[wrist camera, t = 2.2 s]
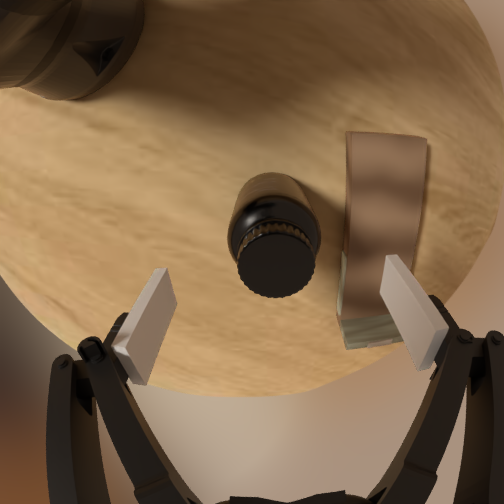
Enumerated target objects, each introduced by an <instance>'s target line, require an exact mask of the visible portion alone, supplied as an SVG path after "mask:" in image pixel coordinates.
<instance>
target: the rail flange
mask: <svg viewBox="0 0 504 504" xmlns="http://www.w3.org/2000/svg"><path fill="white" fill-rule="evenodd" d="M426 152H427V139H426V138H422V137H419V136H412V135H401V134H389V133H374V132H351V131H346V208H345V229H344V245H343V250H342V258H341V270H340V281H339V291H338V300H337V319H338V322H339V326H340V329H341V333H342V336H343V340H344V344H345V347H346V350H350V349H358V348H365V347H367V348H370V347H377V346H383V345H389V344H391V343H397V342H402V341H404V340H403V338H402V336H401V334H400V332H399V330H398V328H397V326H396V324H395V322H394V320H393V318H392V316H391V314H390V312H389V310H388V308H387V306H386V304H385V302H384V300H383V298H382V296H381V295H380V288H381V283H382V277H383V271H384V265H385V259H386V255H396V254H397V255H398V256H399V258H400V259H401V260H402V261H403V263H404V264H405V265H406V267H407V268H408V269H409V271H410V270H411V266H412V261H413V256H414V251H415V246H416V240H417V235H418V229H419V222H420V216H421V208H422V200H423V192H424V181H425V169H426Z"/></svg>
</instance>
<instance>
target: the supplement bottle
mask: <svg viewBox="0 0 504 504" xmlns="http://www.w3.org/2000/svg"><path fill="white" fill-rule="evenodd" d="M227 242H228V248H229V251H230V254H231V256H232V258H233V260H234V261H235V263H236V264H237V268H238V274H239V275H240V279H241V280H242V281H243V282H244V285H246V286H247V287H248V288H249V290H252V291H254V293H256V294H259V295H261V296H266V297H268V298H271V297H273V298H279V297H281V298H283V297H285V296H291V295H292V294H295V293H297V292H298V291H299V290H302V289H303V287H304V286H306V285H307V284H308V281H310V280H311V277H312V275H313V274H314V268H315V259H316V256H317V254H318V252H319V249H320V244H321V230H320V226H319V223H318V220H317V218H316V216H315V213H314V211H313V209H312V207H311V205H310V203H309V201H308V199H307V197H306V195H305V193H304V192H303V190H302V188H301V187H300V186H299V185H298V183H297V182H295V181H294V180H293V179H292V178H290V177H288V176H286V175H284V174H280V173H273V172H270V173H263V174H260V175H257V176H255V177H253V178H252V179H250V180H249V181H248V182H247V183H246V184H245V185H244V186H243V187H242V189H241V191H240V193H239V195H238V198H237V201H236V204H235V207H234V211H233V214H232V217H231V220H230V224H229V228H228V235H227Z"/></svg>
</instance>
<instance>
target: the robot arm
mask: <svg viewBox="0 0 504 504" xmlns="http://www.w3.org/2000/svg"><path fill="white" fill-rule="evenodd" d="M143 23H144V5H143V1H142V0H0V89H4V88H11V87H21V88H23V89H25V90H27V91H30V92H32V93H34V94H37V95H40V96H41V97H43V98H46V99H50V100H71V99H78V98H81V97H84V96H87V95H89V94H91V93H93V92H95V91H96V90H98V89H100V88H101V87H102V86H104V85H105V84H106V83H107V82H109V81H110V80H111V79H112V78H113V77H114V76H115V75H116V74H117V73H118V72H119V70H120V69H121V68H122V67H123V66H124V64H125V63H126V61H127V60H128V59H129V57H130V55H131V54H132V52H133V50H134V48H135V46H136V44H137V42H138V40H139V37H140V35H141V31H142V27H143ZM380 295H381V296H382V298H383V300H384V302H385V304H386V306H387V308H388V310H389V312H390V314H391V316H392V318H393V320H394V322H395V324H396V326H397V328H398V330H399V332H400V334H401V336H402V338H403V340H404V343H405V345H406V347H407V349H408V351H409V353H410V355H411V358H412V360H413V362H414V364H415V367H416V369H417V371H421V370H425V369H429V368H430V367H431V365H432V363H433V361H435V363H436V365H437V367H436V369H435V370H434V372H433V374H432V376H431V377H430V380H431V381H430V384H429V386H428V389H427V391H426V394H425V396H424V399H423V402H422V404H421V406H420V408H419V410H418V413H417V415H416V417H415V419H414V421H413V423H412V425H411V428H410V430H409V432H408V434H407V436H406V437H405V439H404V441H403V443H402V445H401V447H400V449H399V451H398V452H397V454H396V456H395V458H394V459H393V461H392V463H391V464H390V466H389V468H388V469H387V471H386V473H385V474H384V476H383V477H382V479H381V480H380V482H379V483H378V484H377V485H376V487H375V488H374V489H373V490H372V491H371V493H370V494H369V495H368V497H367V498H366V499H365V498H363V497H359V496H356V495H349V494H348V495H347V494H345V490H343V491H337V492H330V493H322V494H316V495H313V496H310V497H307V498H304V499H301V500H297V501H294V502H289V503H285V502H279V501H274V500H269V499H264V498H259V497H235V496H230V500H228V501H223V502H219V503H216V504H425V502H426V501H427V499H428V497H429V495H430V493H431V491H432V489H433V487H434V485H435V483H436V481H437V475H436V471H437V468H438V466H439V464H440V462H441V459H442V457H443V455H444V452H445V450H446V447H447V445H448V442H449V440H450V437H451V434H452V431H453V428H454V426H455V423H456V419H457V416H458V413H459V410H460V407H461V403H462V400H463V396H464V392H465V388H466V385H467V402H466V403H467V404H466V424H465V435H464V446H463V453H462V460H461V466H460V472H459V478H458V483H457V488H456V492H455V497H454V502H453V504H504V336H503V334H501V333H500V332H498V331H490V332H488V334H487V335H486V337H485V338H474V336H473V335H472V334H471V333H470V332H469V331H467V330H465V329H459V327H458V325H457V324H456V322H455V321H454V319H453V318H452V316H451V315H450V313H448V310H447V309H446V308H445V307H444V305H443V303H442V302H441V301H440V299H438V298H437V297H435V296H434V295H427V294H426V292H425V291H424V290H423V288H422V287H421V285H420V284H419V283H418V281H417V280H416V279H415V277H414V276H413V275H412V273H411V272H410V271H409V269H408V268H407V267H406V265H405V264H404V263H403V261H402V260H401V259H400V258H399V256H398V255H397V254H396V255H386V259H385V265H384V271H383V277H382V283H381V288H380ZM176 306H177V301H176V298H175V294H174V291H173V287H172V284H171V280H170V277H169V273H168V269H167V268H156V269H155V270H154V272H153V274H152V275H151V277H150V279H149V280H148V282H147V283H146V285H145V287H144V288H143V290H142V292H141V294H140V295H139V297H138V299H137V300H136V302H135V304H134V305H133V307H132V309H131V311H130V312H129V313H125V312H124V313H123V314H122V315H120V316H119V317H118V318H117V320H116V321H115V323H114V325H113V326H112V328H111V330H110V332H109V333H108V335H107V337H106V339H105V340H104V342H103V343H102V342H101V340H100V339H99V338H98V337H96V336H91V337H88V338H86V339H84V340H82V341H81V342H80V344H79V345H78V347H77V351H78V353H79V355H80V356H81V358H82V359H83V360H77V361H74V360H73V358H72V357H71V356H70V355H68V354H63V355H60V356H59V357H57V358H56V359H55V360H54V362H53V364H52V369H51V376H50V384H49V395H48V406H47V423H46V425H47V427H46V462H47V479H48V489H49V498H50V504H111V502H110V498H109V494H108V489H107V484H106V479H105V474H104V468H103V462H102V456H101V448H100V441H99V432H98V421H97V408H96V401H97V404H98V406H99V409H100V412H101V415H102V417H103V420H104V423H105V425H106V428H107V430H108V433H109V435H110V437H111V439H112V442H113V444H114V446H115V449H116V451H117V453H118V455H119V457H120V459H121V462H122V464H123V466H124V467H125V470H126V472H127V474H128V476H129V477H130V479H131V481H132V483H133V485H134V487H135V490H134V495H135V497H136V499H137V501H138V503H139V504H202V502H201V501H200V500H199V499H198V498H197V496H196V495H195V494H194V493H193V492H192V491H191V490H190V489H189V487H188V486H187V485H186V483H185V482H184V480H183V479H182V478H181V476H180V475H179V473H178V472H177V470H176V469H175V467H174V466H173V464H172V463H171V462H170V460H169V459H168V457H167V455H166V454H165V452H164V450H163V449H162V447H161V446H160V444H159V442H158V441H157V439H156V437H155V436H154V434H153V432H152V431H151V429H150V427H149V425H148V423H147V422H146V420H145V418H144V416H143V414H142V412H141V410H140V408H139V407H138V405H137V403H136V401H135V399H134V397H133V395H132V393H131V391H130V388H129V386H128V385H127V383H126V382H127V380H128V377H129V378H130V380H131V381H132V383H133V384H138V385H147V382H148V379H149V377H150V374H151V371H152V368H153V366H154V363H155V360H156V358H157V355H158V352H159V350H160V347H161V344H162V342H163V339H164V336H165V334H166V331H167V329H168V326H169V324H170V321H171V319H172V316H173V314H174V311H175V309H176Z"/></svg>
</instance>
